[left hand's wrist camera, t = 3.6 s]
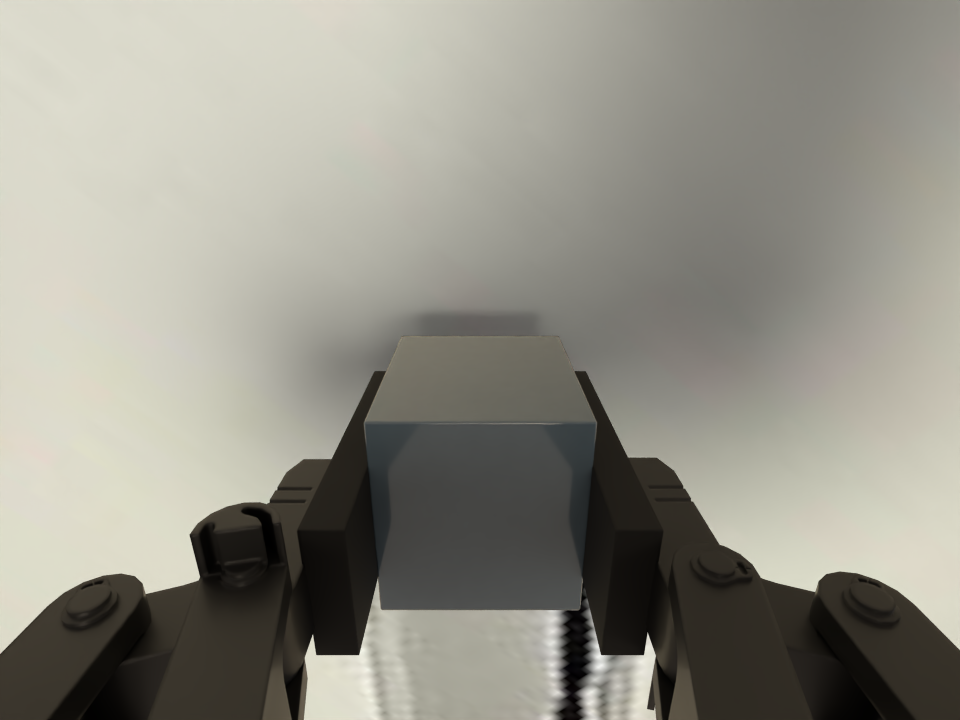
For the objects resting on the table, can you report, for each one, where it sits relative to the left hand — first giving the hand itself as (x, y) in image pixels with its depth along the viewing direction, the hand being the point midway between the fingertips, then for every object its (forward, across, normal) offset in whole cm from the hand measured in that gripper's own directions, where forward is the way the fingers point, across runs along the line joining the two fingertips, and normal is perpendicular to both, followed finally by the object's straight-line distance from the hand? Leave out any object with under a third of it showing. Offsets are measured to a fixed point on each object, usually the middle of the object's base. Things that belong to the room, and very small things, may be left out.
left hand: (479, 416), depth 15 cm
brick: (0, 0, 0) cm, 0 cm away
